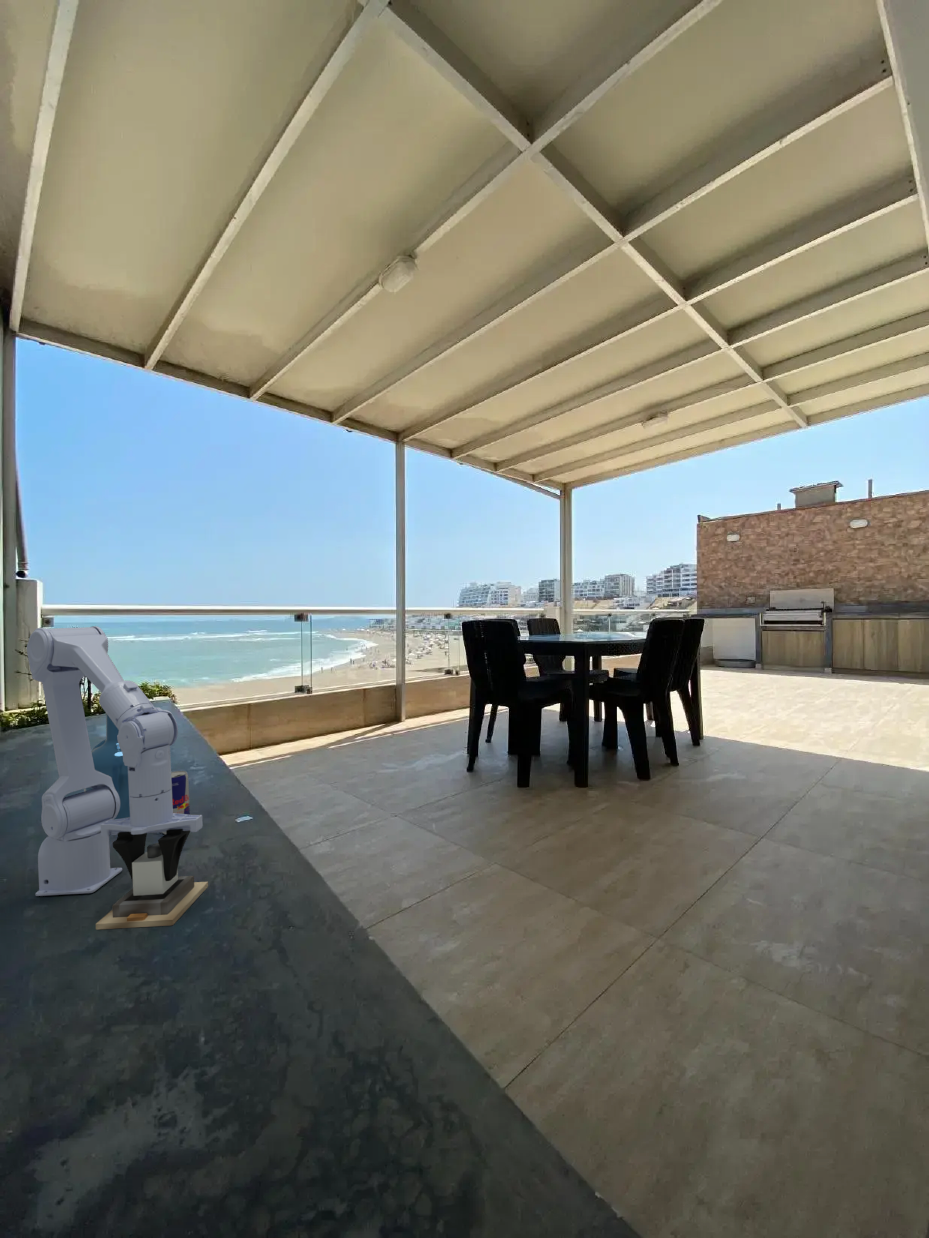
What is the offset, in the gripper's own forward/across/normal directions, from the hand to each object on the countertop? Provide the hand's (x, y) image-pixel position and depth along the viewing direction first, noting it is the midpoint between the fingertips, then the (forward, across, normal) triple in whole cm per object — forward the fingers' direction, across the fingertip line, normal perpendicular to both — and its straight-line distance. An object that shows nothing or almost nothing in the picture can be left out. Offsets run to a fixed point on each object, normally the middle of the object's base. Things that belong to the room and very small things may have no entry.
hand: (154, 878), depth 81 cm
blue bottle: (+4, -29, +38) cm, 48 cm away
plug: (+2, 0, 0) cm, 2 cm away
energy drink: (+4, -13, +31) cm, 34 cm away
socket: (+4, 0, 0) cm, 4 cm away
